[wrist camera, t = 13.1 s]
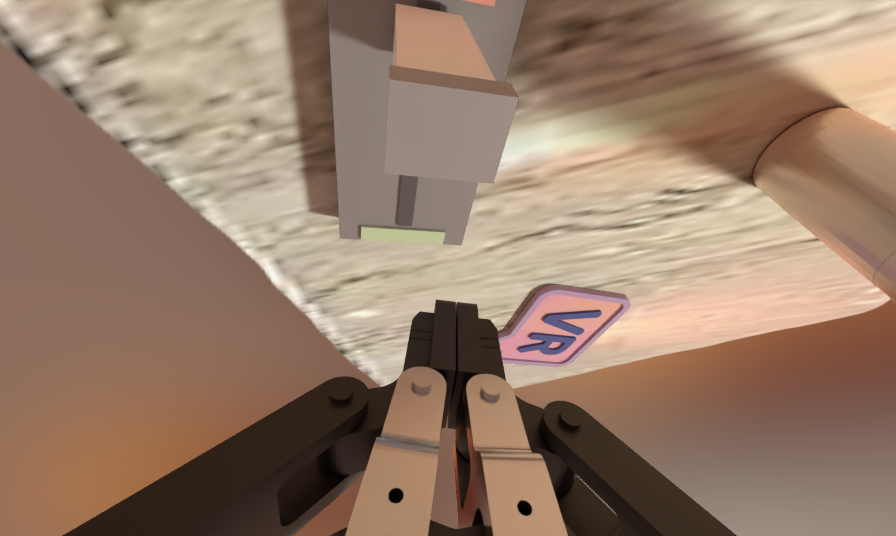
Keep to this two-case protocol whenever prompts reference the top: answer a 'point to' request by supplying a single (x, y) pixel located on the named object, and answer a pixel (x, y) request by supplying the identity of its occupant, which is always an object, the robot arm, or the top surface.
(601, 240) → the top surface
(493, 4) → the switch base
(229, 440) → the robot arm
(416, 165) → the handle
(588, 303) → the icon
